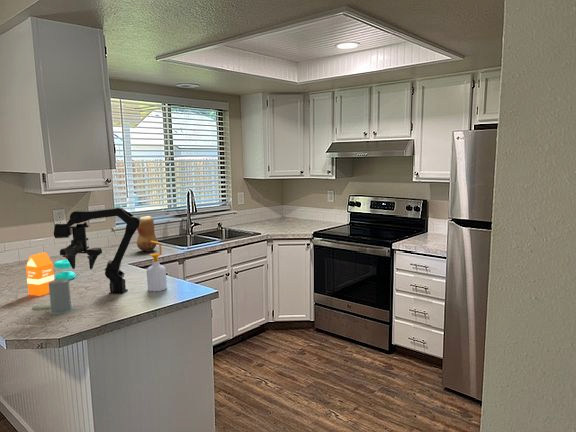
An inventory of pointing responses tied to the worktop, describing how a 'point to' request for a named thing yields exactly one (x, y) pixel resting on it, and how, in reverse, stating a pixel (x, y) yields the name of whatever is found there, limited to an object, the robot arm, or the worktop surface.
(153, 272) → the soap bottle
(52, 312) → the teal disc stand
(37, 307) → the mat
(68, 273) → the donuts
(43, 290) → the orange juice
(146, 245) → the butternut squash
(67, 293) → the grey canister
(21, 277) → the worktop surface
